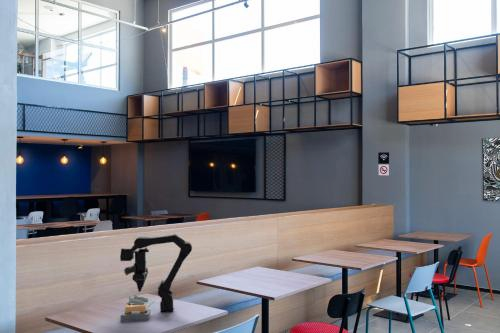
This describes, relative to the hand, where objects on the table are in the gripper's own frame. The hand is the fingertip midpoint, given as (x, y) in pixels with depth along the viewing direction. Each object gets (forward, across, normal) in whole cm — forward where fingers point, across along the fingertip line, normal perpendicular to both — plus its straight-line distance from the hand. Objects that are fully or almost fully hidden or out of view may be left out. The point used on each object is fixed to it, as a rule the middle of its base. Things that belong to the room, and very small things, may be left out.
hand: (140, 289), depth 258 cm
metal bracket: (+13, -14, -2) cm, 19 cm away
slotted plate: (+12, +12, -1) cm, 17 cm away
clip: (+12, +12, -1) cm, 17 cm away
